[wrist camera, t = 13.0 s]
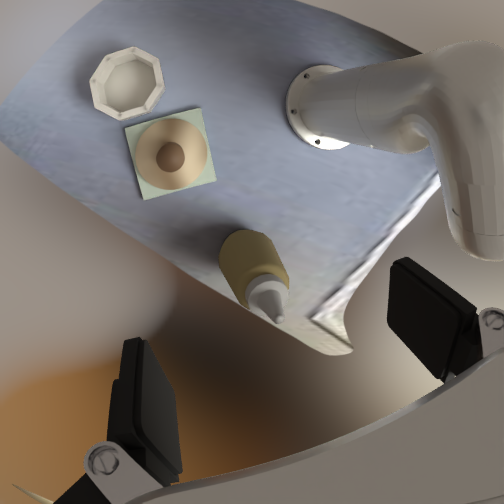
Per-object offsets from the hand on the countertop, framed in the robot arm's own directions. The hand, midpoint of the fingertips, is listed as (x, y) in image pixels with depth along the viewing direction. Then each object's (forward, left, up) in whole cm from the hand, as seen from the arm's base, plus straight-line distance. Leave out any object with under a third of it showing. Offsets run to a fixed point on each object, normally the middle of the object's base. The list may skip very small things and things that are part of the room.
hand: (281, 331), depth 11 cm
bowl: (+6, -14, -33) cm, 37 cm away
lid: (+3, -4, -32) cm, 33 cm away
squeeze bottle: (-3, +12, -34) cm, 36 cm away
